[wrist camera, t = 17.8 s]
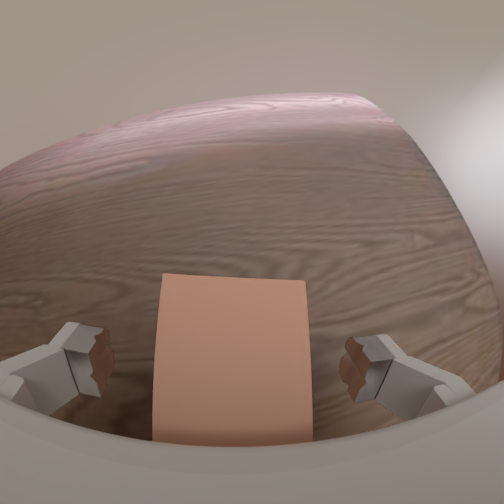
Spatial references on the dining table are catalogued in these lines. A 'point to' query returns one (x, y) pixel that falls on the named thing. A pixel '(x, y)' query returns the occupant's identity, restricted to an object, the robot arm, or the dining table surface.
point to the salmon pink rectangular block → (232, 362)
